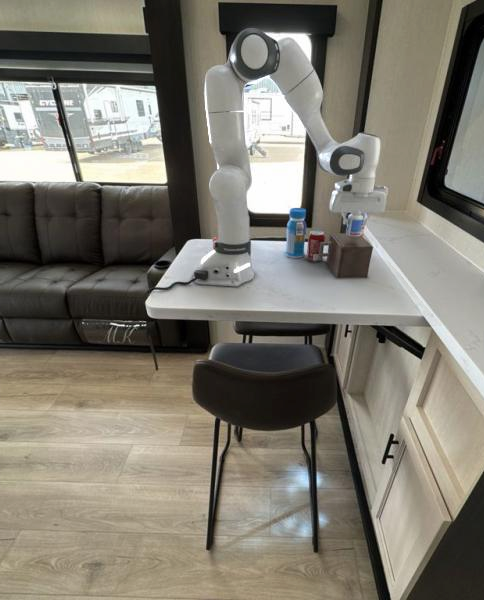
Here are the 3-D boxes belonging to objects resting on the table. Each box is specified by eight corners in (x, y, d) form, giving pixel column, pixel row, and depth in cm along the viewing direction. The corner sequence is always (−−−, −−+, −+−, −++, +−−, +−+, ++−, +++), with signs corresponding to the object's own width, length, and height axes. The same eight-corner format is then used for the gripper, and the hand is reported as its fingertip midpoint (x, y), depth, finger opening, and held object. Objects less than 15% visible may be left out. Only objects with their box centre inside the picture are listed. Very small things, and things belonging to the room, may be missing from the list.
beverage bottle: (282, 256, 134) (284, 210, 123) (288, 250, 140) (291, 206, 130) (300, 259, 131) (304, 213, 121) (306, 253, 138) (310, 208, 128)
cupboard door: (326, 278, 116) (330, 247, 110) (317, 261, 129) (320, 233, 123) (338, 277, 116) (343, 247, 110) (328, 261, 130) (331, 233, 124)
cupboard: (339, 278, 116) (344, 246, 110) (328, 261, 130) (332, 233, 124) (366, 277, 118) (373, 246, 111) (353, 261, 131) (358, 233, 125)
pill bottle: (362, 235, 116) (367, 209, 111) (355, 238, 113) (359, 211, 108) (350, 231, 120) (354, 206, 115) (342, 234, 116) (346, 208, 111)
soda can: (323, 262, 129) (326, 235, 123) (307, 262, 129) (309, 234, 123) (321, 256, 135) (324, 230, 129) (305, 256, 135) (308, 229, 128)
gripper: (385, 184, 111) (377, 221, 118) (330, 183, 109) (326, 221, 116) (392, 187, 106) (384, 226, 113) (335, 186, 104) (330, 226, 111)
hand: (354, 224), depth 114 cm, fingers closed on pill bottle, 5 cm apart
